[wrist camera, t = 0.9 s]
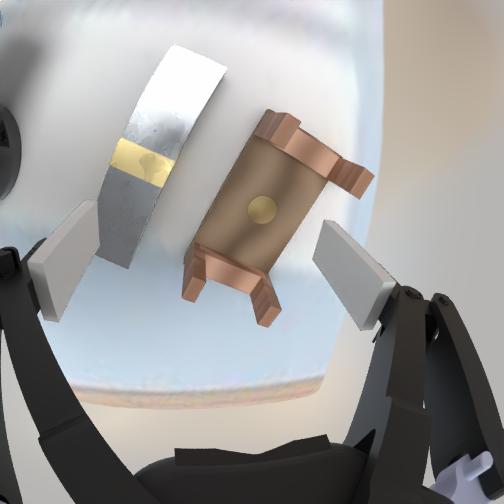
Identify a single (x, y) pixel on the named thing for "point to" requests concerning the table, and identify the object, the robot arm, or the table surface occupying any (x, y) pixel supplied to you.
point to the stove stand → (264, 210)
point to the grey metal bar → (151, 149)
